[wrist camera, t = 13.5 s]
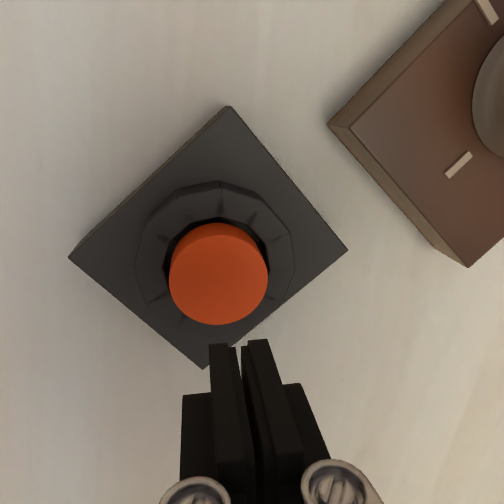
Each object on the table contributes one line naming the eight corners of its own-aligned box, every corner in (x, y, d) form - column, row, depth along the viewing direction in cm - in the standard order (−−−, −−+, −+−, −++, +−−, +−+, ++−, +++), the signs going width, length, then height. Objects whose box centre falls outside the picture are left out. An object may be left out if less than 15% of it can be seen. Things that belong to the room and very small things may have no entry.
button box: (201, 347, 23) (203, 393, 19) (79, 241, 20) (53, 274, 16) (334, 236, 22) (363, 264, 18) (226, 105, 19) (235, 105, 15)
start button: (213, 321, 18) (216, 342, 17) (151, 264, 17) (147, 281, 15) (278, 266, 18) (287, 283, 16) (220, 203, 16) (223, 214, 15)
